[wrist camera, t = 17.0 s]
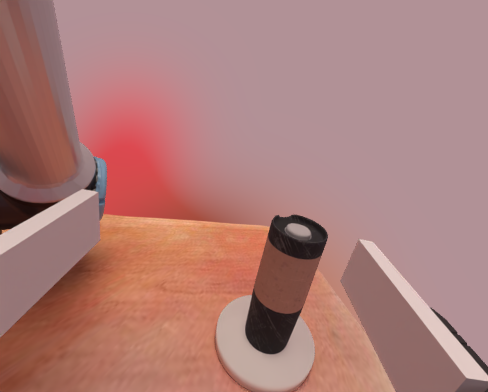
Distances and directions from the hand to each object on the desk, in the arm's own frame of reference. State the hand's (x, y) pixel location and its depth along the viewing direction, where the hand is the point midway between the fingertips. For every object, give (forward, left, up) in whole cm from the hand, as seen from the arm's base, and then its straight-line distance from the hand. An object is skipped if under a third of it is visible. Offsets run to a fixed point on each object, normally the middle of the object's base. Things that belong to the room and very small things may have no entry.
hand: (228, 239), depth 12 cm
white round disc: (-9, +18, -29) cm, 36 cm away
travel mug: (-9, +18, -28) cm, 34 cm away
